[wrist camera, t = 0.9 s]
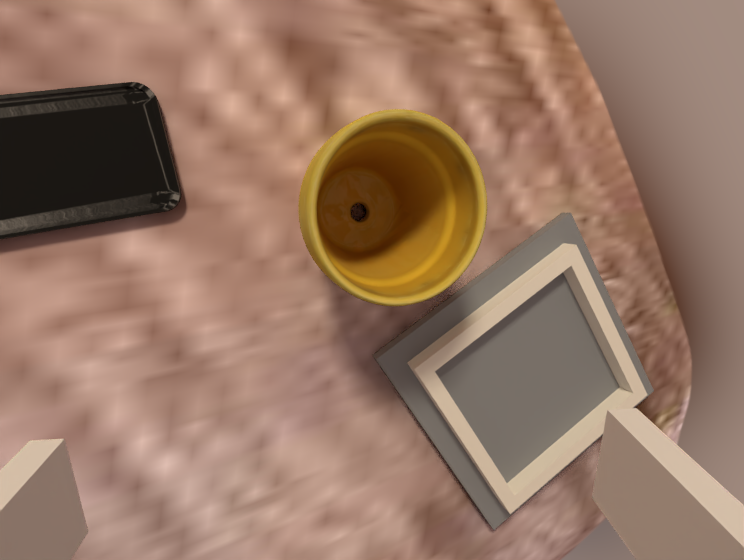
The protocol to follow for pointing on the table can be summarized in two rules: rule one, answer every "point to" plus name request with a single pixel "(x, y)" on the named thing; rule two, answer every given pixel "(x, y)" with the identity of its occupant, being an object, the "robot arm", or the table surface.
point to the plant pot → (394, 207)
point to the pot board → (518, 369)
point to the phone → (82, 158)
